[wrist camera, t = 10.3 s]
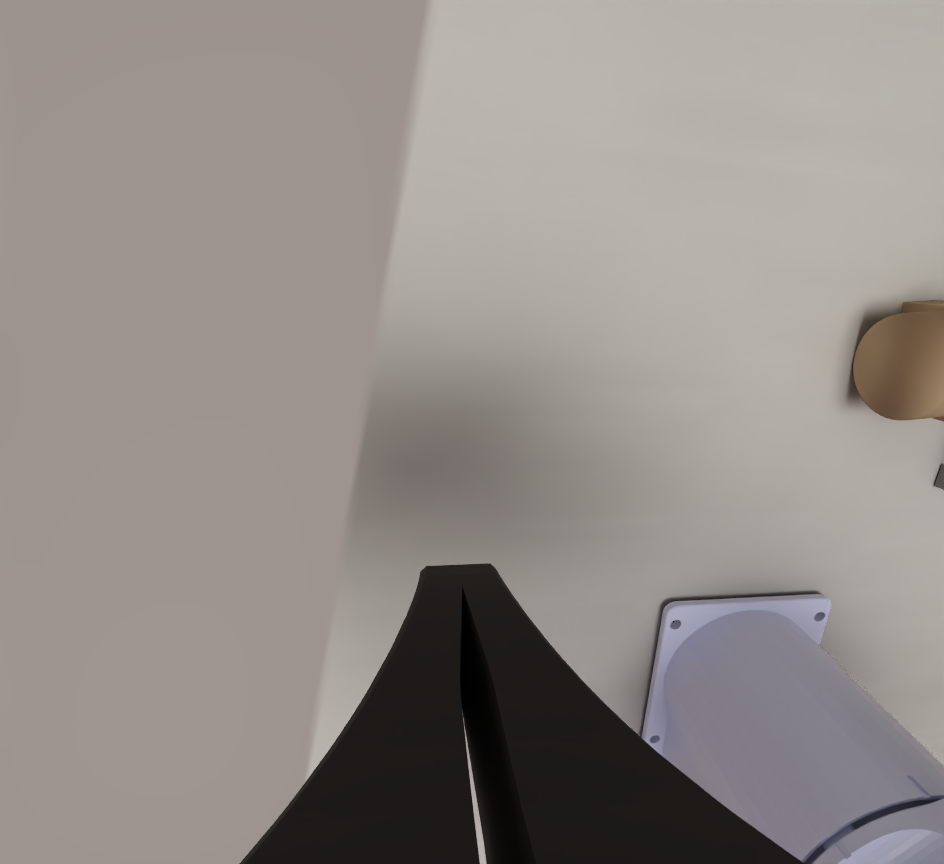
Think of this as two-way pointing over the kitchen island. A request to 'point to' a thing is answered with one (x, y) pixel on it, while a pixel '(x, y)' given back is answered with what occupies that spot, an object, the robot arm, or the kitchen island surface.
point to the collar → (940, 478)
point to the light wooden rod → (904, 363)
